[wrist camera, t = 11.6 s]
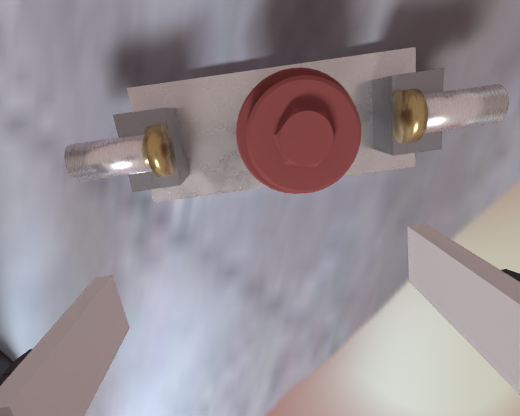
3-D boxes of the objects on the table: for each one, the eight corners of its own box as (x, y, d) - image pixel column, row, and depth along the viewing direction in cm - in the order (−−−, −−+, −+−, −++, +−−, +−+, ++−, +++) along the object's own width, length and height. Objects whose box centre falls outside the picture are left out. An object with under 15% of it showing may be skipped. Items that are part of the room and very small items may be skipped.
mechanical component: (235, 170, 35) (243, 71, 32) (326, 179, 36) (341, 82, 33) (228, 202, 24) (239, 50, 21) (363, 213, 24) (393, 68, 21)
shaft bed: (125, 204, 37) (84, 237, 28) (96, 93, 34) (36, 87, 24) (441, 160, 37) (507, 178, 27) (445, 43, 33) (522, 18, 24)
